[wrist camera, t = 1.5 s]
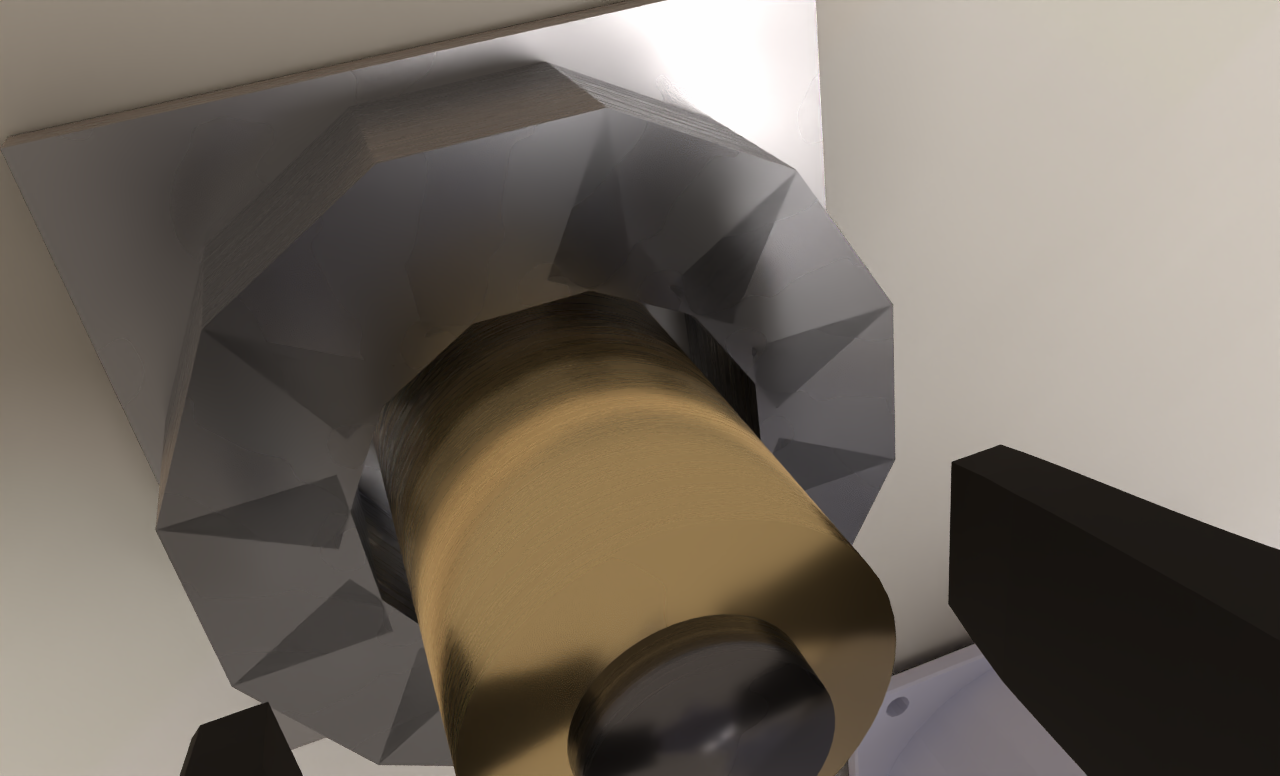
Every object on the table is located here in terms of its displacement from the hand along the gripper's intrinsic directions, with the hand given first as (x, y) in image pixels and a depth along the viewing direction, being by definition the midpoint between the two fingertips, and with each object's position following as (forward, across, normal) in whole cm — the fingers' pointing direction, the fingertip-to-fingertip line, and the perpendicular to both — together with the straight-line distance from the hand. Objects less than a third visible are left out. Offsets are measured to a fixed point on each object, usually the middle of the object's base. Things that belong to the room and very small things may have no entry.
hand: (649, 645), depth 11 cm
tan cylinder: (+6, 0, 0) cm, 6 cm away
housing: (+6, 0, 0) cm, 6 cm away
